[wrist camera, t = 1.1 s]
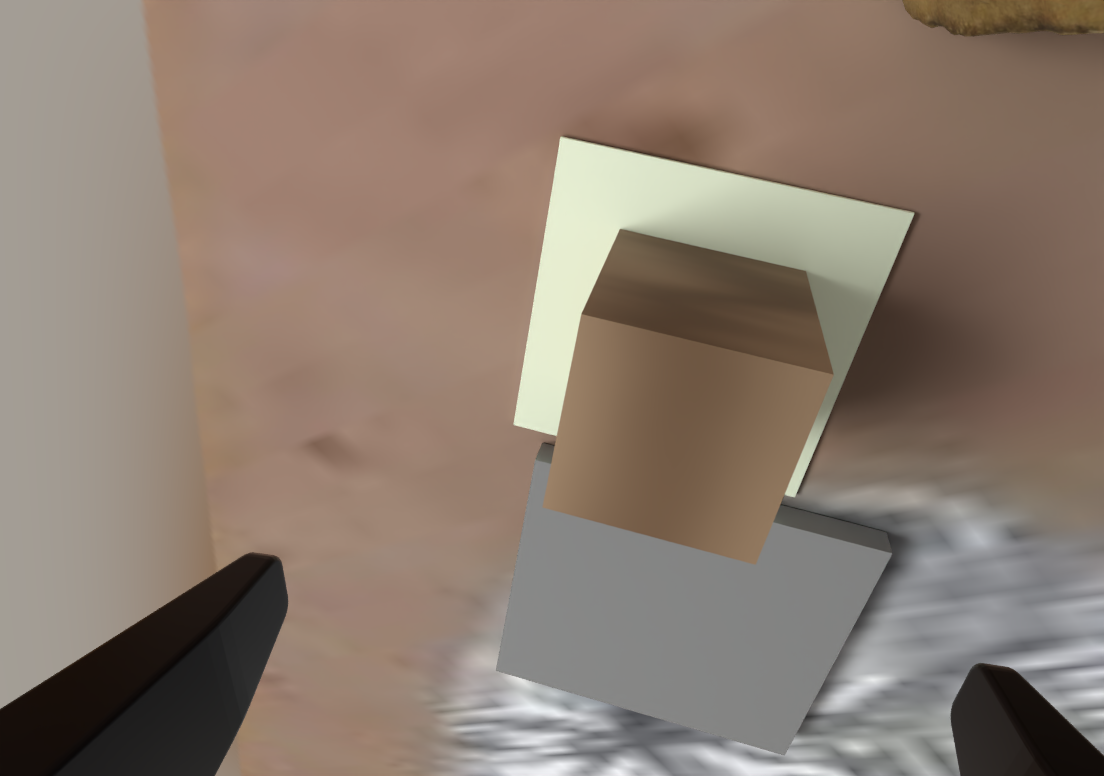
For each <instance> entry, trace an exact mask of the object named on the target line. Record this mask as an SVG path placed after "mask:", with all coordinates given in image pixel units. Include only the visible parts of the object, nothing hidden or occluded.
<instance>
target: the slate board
mask: <svg viewBox="0 0 1104 776" xmlns="http://www.w3.org/2000/svg"><path fill="white" fill-rule="evenodd" d="M554 447H555V446H553V445H549V444H545V443H542V445H541V447H540V450H539V452H538V455H537V457H536V459H535V464H534V470H533V475H532V480H531V486H530V491H529V496H528V502H527V507H526V512H525V518H524V523H523V528H522V534H521V539H520V544H519V550H518V555H517V560H516V566H515V571H514V577H513V582H512V587H511V593H510V598H509V603H508V609H507V614H506V619H505V625H504V630H503V635H502V641H501V646H500V651H499V657H498V662H497V667H496V671H499V672H502V673H506V674H509V675H512V676H516V677H519V678H523V679H526V680H529V681H533V682H536V683H540V684H543V685H546V686H550V687H553V688H557V689H560V690H563V691H567V692H570V693H574V694H577V695H580V696H584V697H587V698H591V699H594V700H597V701H601V702H604V703H608V704H611V705H614V706H618V707H621V708H625V709H628V710H631V711H635V712H638V713H642V714H645V715H648V716H652V717H655V718H659V719H662V720H665V721H669V722H672V723H676V724H679V725H683V726H686V727H689V728H693V729H696V730H700V731H703V732H706V733H710V734H713V735H717V736H720V737H723V738H727V739H730V740H734V741H737V742H740V743H744V744H747V745H751V746H754V747H757V748H761V749H764V750H768V751H771V752H774V753H778V754H781V755H785V754H786V752H787V750H788V748H789V746H790V744H791V742H792V741H793V739H794V737H795V735H796V733H797V731H798V729H799V727H800V726H801V724H802V722H803V720H804V718H805V716H806V714H807V712H808V711H809V709H810V707H811V705H812V703H813V701H814V699H815V698H816V696H817V694H818V692H819V690H820V688H821V686H822V684H823V683H824V681H825V679H826V677H827V675H828V673H829V671H830V669H831V668H832V666H833V664H834V662H835V660H836V658H837V656H838V654H839V653H840V651H841V649H842V647H843V645H844V643H845V641H846V640H847V638H848V636H849V634H850V632H851V630H852V628H853V626H854V625H855V623H856V621H857V619H858V617H859V615H860V613H861V611H862V610H863V608H864V606H865V604H866V602H867V600H868V598H869V596H870V595H871V593H872V591H873V589H874V587H875V585H876V583H877V582H878V580H879V578H880V576H881V574H882V572H883V570H884V568H885V567H886V565H887V563H888V561H889V559H890V557H891V555H892V550H891V547H890V543H889V540H888V536H887V533H886V532H884V531H880V530H876V529H872V528H868V527H865V526H861V525H857V524H853V523H849V522H845V521H841V520H838V519H834V518H830V517H826V516H822V515H818V514H815V513H811V512H807V511H803V510H799V509H795V508H791V507H788V506H784V505H780V507H779V509H778V512H777V514H776V516H775V519H774V521H773V524H772V526H771V529H770V531H769V533H768V536H767V538H766V541H765V543H764V546H763V548H762V550H761V553H760V555H759V558H758V560H757V563H756V565H755V564H751V563H747V562H743V561H740V560H736V559H732V558H728V557H725V556H721V555H717V554H714V553H710V552H706V551H702V550H699V549H695V548H691V547H688V546H684V545H680V544H676V543H673V542H669V541H665V540H662V539H658V538H654V537H650V536H647V535H643V534H639V533H635V532H632V531H628V530H624V529H621V528H617V527H613V526H609V525H606V524H602V523H598V522H595V521H591V520H587V519H583V518H580V517H576V516H572V515H568V514H565V513H561V512H557V511H554V510H550V509H546V508H542V507H543V502H544V497H545V492H546V487H547V482H548V477H549V472H550V467H551V462H552V457H553V452H554Z"/></svg>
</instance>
